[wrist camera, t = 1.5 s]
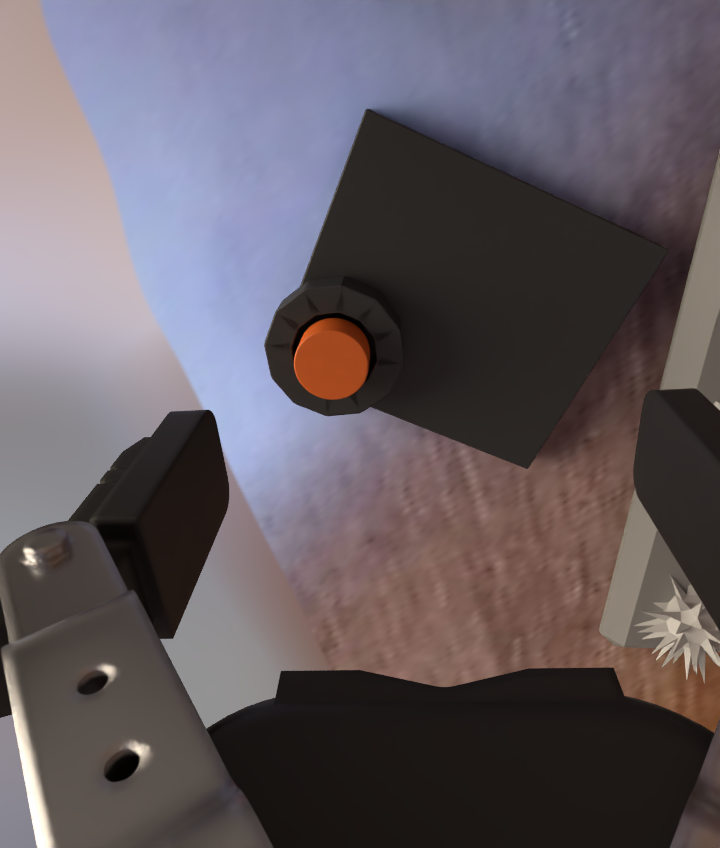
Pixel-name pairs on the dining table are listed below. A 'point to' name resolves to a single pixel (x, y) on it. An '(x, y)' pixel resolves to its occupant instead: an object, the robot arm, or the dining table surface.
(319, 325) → the button
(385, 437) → the dining table surface
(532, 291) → the kitchen scale
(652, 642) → the grey spiked board
